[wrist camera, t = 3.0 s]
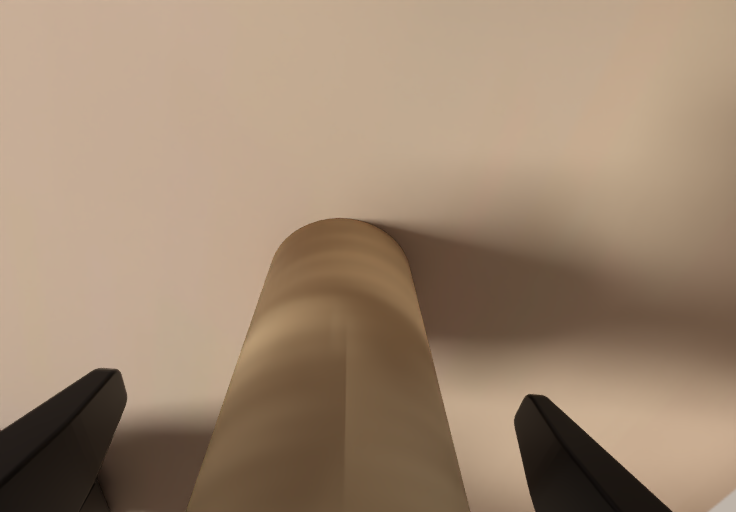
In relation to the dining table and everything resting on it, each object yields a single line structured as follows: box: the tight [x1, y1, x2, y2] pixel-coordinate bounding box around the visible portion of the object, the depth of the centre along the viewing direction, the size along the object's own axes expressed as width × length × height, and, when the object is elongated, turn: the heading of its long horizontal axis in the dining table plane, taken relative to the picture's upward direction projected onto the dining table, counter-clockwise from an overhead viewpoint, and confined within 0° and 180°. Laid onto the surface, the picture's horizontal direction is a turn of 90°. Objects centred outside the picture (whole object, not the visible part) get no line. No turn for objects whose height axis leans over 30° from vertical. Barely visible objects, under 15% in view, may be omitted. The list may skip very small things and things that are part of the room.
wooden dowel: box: [186, 218, 470, 512], centre depth 9 cm, size 4×4×8 cm
